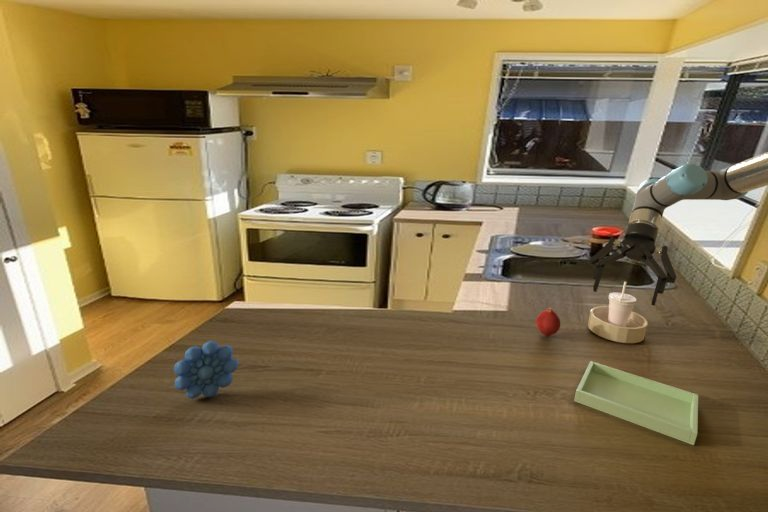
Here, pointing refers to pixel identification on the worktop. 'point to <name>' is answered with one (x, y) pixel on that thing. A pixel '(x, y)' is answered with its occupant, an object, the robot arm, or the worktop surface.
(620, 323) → the smoothie
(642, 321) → the bowl
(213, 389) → the blue flower
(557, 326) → the onion
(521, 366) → the worktop surface
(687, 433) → the tray
